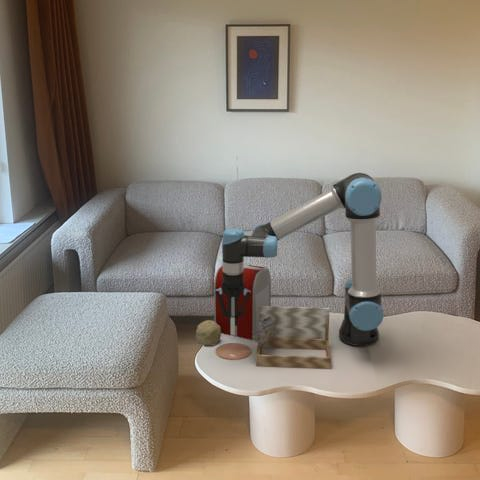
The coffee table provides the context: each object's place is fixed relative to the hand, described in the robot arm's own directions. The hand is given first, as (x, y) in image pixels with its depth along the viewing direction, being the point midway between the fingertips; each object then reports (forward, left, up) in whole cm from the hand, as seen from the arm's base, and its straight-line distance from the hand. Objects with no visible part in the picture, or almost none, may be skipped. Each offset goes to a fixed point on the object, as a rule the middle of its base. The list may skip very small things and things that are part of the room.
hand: (232, 333), depth 242 cm
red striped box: (-2, -20, -8) cm, 22 cm away
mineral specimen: (-10, +10, +2) cm, 14 cm away
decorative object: (+13, -8, -8) cm, 17 cm away
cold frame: (-22, +3, -8) cm, 24 cm away
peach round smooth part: (0, 0, -7) cm, 7 cm away
